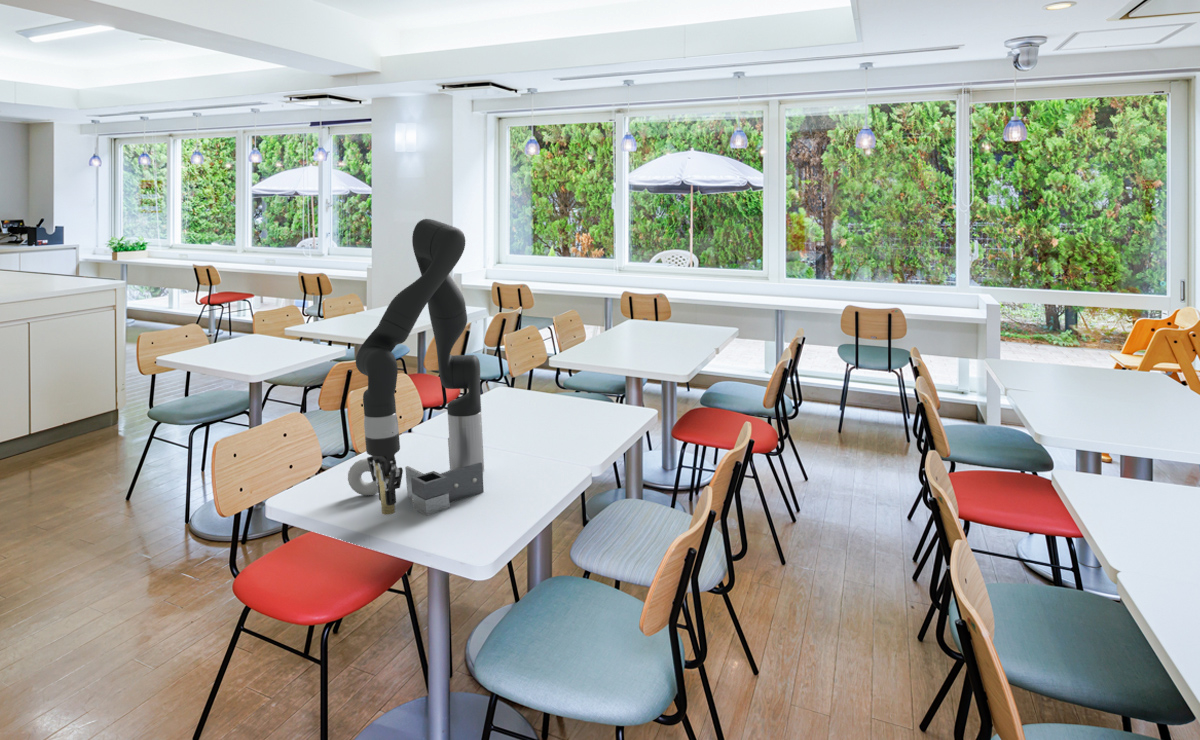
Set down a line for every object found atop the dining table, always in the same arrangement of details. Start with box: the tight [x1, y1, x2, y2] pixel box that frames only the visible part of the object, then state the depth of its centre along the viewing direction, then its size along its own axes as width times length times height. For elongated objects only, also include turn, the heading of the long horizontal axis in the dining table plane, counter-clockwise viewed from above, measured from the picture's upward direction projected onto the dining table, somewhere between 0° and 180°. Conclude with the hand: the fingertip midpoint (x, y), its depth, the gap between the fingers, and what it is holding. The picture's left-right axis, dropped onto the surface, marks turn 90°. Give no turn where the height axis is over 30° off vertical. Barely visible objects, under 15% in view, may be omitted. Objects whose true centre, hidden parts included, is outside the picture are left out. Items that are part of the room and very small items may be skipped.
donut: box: [347, 457, 379, 496], centre depth 185 cm, size 10×3×10 cm, turn 100°
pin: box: [376, 465, 396, 516], centre depth 168 cm, size 4×4×12 cm
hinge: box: [404, 462, 485, 516], centre depth 183 cm, size 14×18×8 cm
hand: (387, 501), depth 169 cm, fingers closed on pin, 3 cm apart
